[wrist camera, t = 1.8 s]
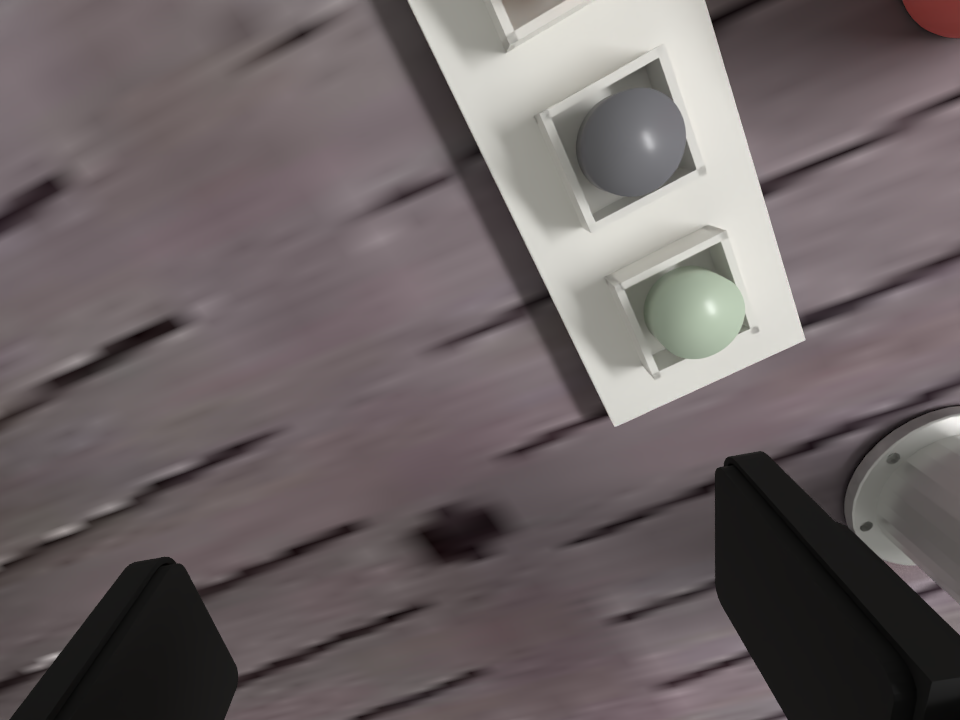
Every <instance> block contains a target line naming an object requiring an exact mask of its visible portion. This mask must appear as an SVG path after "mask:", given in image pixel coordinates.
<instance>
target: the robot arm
mask: <svg viewBox="0 0 960 720" xmlns="http://www.w3.org/2000/svg"><path fill="white" fill-rule="evenodd" d="M844 514H845V518H846V523H847V526H848V527H846V526H845V525H843V524H840V523H838V522H835V521H834V520H833V519H832V518H831V517H830V516H829V515H828V514H827V513H826V512H825V511H824V510H823V509H822V508H821V507H820V506H819V505H818V504H817V503H815V502H814V501H813V500H812V499H811V498H810V497H809V496H808V495H807V494H806V493H805V492H804V491H803V490H802V489H801V488H800V487H799V486H798V485H797V484H796V483H795V482H794V481H793V480H792V479H791V478H790V477H789V476H788V475H787V474H786V473H785V472H784V471H783V470H782V469H781V468H780V467H779V466H778V465H777V464H776V463H775V462H774V461H773V460H772V459H771V458H770V457H769V456H768V455H767V454H766V453H764V452H761V451H759V452H753V453H748V454H742V455H736V456H731V457H728V458H726V459H725V462H724V467H719V468H717V469H716V471H715V585H716V591H717V594H718V598H719V600H720V603H721V605H722V607H723V609H724V610H725V612H726V614H727V616H728V617H729V619H730V621H731V622H732V624H733V626H734V628H735V629H736V631H737V633H738V634H739V636H740V638H741V640H742V641H743V643H744V645H745V646H746V648H747V650H748V652H749V653H750V655H751V657H752V659H753V660H754V662H755V664H756V665H757V667H758V669H759V671H760V672H761V674H762V676H763V677H764V679H765V681H766V683H767V684H768V686H769V688H770V690H771V691H772V693H773V695H774V696H775V698H776V700H777V702H778V703H779V705H780V707H781V708H782V710H783V712H784V714H785V715H786V717H787V719H788V720H960V635H959V634H958V633H957V632H956V631H955V630H954V629H953V628H952V627H951V626H950V625H949V624H948V623H947V622H945V621H944V620H943V619H942V618H941V617H940V616H939V615H938V614H937V613H936V612H935V611H934V610H933V609H932V608H931V607H930V606H929V605H928V604H927V603H926V602H925V601H924V600H923V599H922V598H921V597H920V596H919V595H918V594H917V593H916V592H915V591H914V590H913V589H912V588H911V587H910V586H908V585H907V584H906V583H905V582H904V581H903V580H902V579H901V578H900V577H899V576H898V575H897V574H896V573H895V572H894V571H893V570H892V569H891V568H890V567H889V566H888V565H887V564H886V563H885V562H884V561H887V562H891V563H895V564H900V565H910V566H918V567H919V568H920V569H921V570H923V571H924V572H925V573H926V574H927V575H928V576H929V577H930V578H931V579H932V580H933V581H935V582H936V583H937V584H938V585H939V586H940V587H941V588H942V589H943V590H944V591H945V592H946V593H948V594H949V595H950V596H951V597H952V598H953V599H954V600H955V601H956V602H957V603H958V604H960V406H956V407H948V408H944V409H941V410H937V411H933V412H930V413H927V414H925V415H922V416H920V417H918V418H915V419H913V420H911V421H909V422H907V423H906V424H904V425H902V426H901V427H899V428H897V429H895V430H894V431H892V432H891V433H890V434H889V435H887V436H886V437H885V438H884V439H882V440H881V441H880V442H878V443H877V445H876V446H875V447H874V448H873V449H872V450H871V451H870V452H869V453H868V454H867V455H866V456H865V457H864V459H863V460H862V462H861V463H860V464H859V466H858V467H857V469H856V470H855V472H854V474H853V476H852V479H851V481H850V483H849V485H848V488H847V492H846V496H845V503H844ZM883 560H884V561H883ZM237 682H238V671H237V667H236V664H235V663H234V661H233V659H232V657H231V655H230V653H229V651H228V649H227V647H226V645H225V643H224V641H223V640H222V638H221V636H220V634H219V632H218V630H217V628H216V626H215V624H214V622H213V620H212V618H211V617H210V615H209V613H208V611H207V609H206V607H205V605H204V603H203V601H202V599H201V597H200V595H199V594H198V592H197V590H196V588H195V586H194V584H193V582H192V580H191V578H190V576H189V574H188V572H187V571H186V569H185V567H184V566H183V565H181V564H176V562H175V561H174V560H173V559H172V558H170V557H161V558H156V559H150V560H144V561H139V562H134V563H132V564H130V565H129V566H127V567H126V568H125V569H124V571H123V572H122V573H121V575H120V576H119V577H118V579H117V580H116V581H115V582H114V584H113V585H112V586H111V588H110V589H109V590H108V592H107V593H106V594H105V596H104V597H103V598H102V599H101V601H100V602H99V603H98V605H97V606H96V607H95V609H94V610H93V611H92V613H91V614H90V615H89V616H88V618H87V619H86V620H85V622H84V623H83V624H82V626H81V627H80V628H79V630H78V631H77V632H76V634H75V635H74V636H73V637H72V639H71V640H70V641H69V643H68V644H67V645H66V647H65V648H64V649H63V651H62V652H61V653H60V654H59V656H58V657H57V658H56V660H55V661H54V662H53V664H52V665H51V666H50V668H49V669H48V670H47V671H46V673H45V674H44V675H43V677H42V678H41V679H40V681H39V682H38V683H37V685H36V686H35V687H34V688H33V690H32V691H31V692H30V694H29V695H28V696H27V698H26V699H25V700H24V702H23V703H22V704H21V705H20V707H19V708H18V709H17V711H16V712H15V713H14V715H13V716H12V717H11V719H10V720H224V719H225V716H226V714H227V711H228V709H229V706H230V704H231V701H232V698H233V696H234V693H235V691H236V687H237Z"/></svg>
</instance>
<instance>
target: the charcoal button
mask: <svg viewBox="0 0 960 720" xmlns="http://www.w3.org/2000/svg"><path fill="white" fill-rule="evenodd" d="M685 144H686V129H685V123H684V119H683V117H682V114H681V112H680V110H679V108H678V107H677V105H676V104H675V103H674V102H673V101H672V100H671V99H670V98H669V97H668V96H666V95H665V94H663V93H662V92H659V91H657V90H654V89H651V88H633V89H628V90H625V91H622V92H619V93H616V94H613V95H610V96H608V97H606V98H604V99H603V100H601V101H599V102H598V103H597V104H596V105H595V106H594V107H593V108H592V109H591V110H590V111H589V112H588V114H587V115H586V116H585V118H584V120H583V121H582V123H581V126H580V128H579V131H578V135H577V141H576V155H577V160H578V164H579V167H580V169H581V171H582V173H583V174H584V176H585V177H586V178H587V180H588V181H589V182H590V183H592V184H593V185H594V186H595V187H597V188H599V189H601V190H603V191H606V192H609V193H612V194H615V195H619V196H624V197H636V196H641V195H645V194H648V193H650V192H652V191H654V190H656V189H657V188H659V187H660V186H662V185H663V184H664V183H665V182H666V181H667V180H668V179H669V178H670V177H671V176H672V175H673V173H674V172H675V171H676V169H677V167H678V166H679V164H680V161H681V159H682V156H683V154H684V149H685Z"/></svg>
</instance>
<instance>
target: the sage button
mask: <svg viewBox="0 0 960 720" xmlns="http://www.w3.org/2000/svg"><path fill="white" fill-rule="evenodd" d="M744 316H745V303H744V299H743V296H742V294H741V292H740V290H739V289H738V287H737V286H736V285H735V284H734V283H732V282H731V281H730V280H728V279H726V278H724V277H722V276H720V275H718V274H716V273H714V272H712V271H710V270H708V269H706V268H704V267H700V266H683V267H679V268H676V269H673V270H671V271H669V272H667V273H666V274H664V275H663V276H662V277H660V278H659V279H658V280H657V281H656V282H655V283H654V285H653V286H652V287H651V289H650V290H649V292H648V294H647V297H646V299H645V303H644V320H645V324H646V326H647V328H648V330H649V331H650V333H651V334H652V335H653V336H654V337H655V338H656V339H657V340H658V341H659V342H660V343H661V344H662V345H663V346H664V347H665V348H666V349H667V350H668V351H670V352H671V353H672V354H674V355H676V356H678V357H681V358H685V359H702V358H706V357H709V356H712V355H714V354H716V353H718V352H720V351H721V350H723V349H724V348H726V347H727V346H728V345H729V344H730V343H731V342H732V341H733V340H734V338H735V337H736V336H737V334H738V333H739V331H740V329H741V327H742V324H743V321H744Z"/></svg>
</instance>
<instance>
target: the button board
mask: <svg viewBox="0 0 960 720" xmlns="http://www.w3.org/2000/svg"><path fill="white" fill-rule="evenodd" d="M407 2H408V4H409V6H410V8H411V10H412V12H413V14H414V16H415V18H416V20H417V22H418V24H419V26H420V28H421V30H422V33H423V35H424V37H425V39H426V41H427V43H428V45H429V47H430V49H431V51H432V53H433V55H434V57H435V59H436V61H437V63H438V65H439V68H440V70H441V72H442V74H443V76H444V78H445V80H446V82H447V84H448V86H449V88H450V90H451V92H452V94H453V96H454V98H455V101H456V103H457V105H458V107H459V109H460V111H461V113H462V115H463V117H464V119H465V121H466V123H467V125H468V127H469V129H470V131H471V133H472V136H473V138H474V140H475V142H476V144H477V146H478V148H479V150H480V152H481V154H482V156H483V158H484V160H485V162H486V164H487V166H488V169H489V171H490V173H491V175H492V177H493V179H494V181H495V183H496V185H497V187H498V189H499V191H500V193H501V195H502V197H503V199H504V202H505V204H506V206H507V208H508V210H509V212H510V214H511V216H512V218H513V220H514V222H515V224H516V226H517V228H518V230H519V232H520V234H521V237H522V239H523V241H524V243H525V245H526V247H527V249H528V251H529V253H530V255H531V257H532V259H533V261H534V263H535V265H536V267H537V270H538V272H539V274H540V276H541V278H542V280H543V282H544V284H545V286H546V288H547V290H548V292H549V294H550V296H551V298H552V300H553V303H554V305H555V307H556V309H557V311H558V313H559V315H560V317H561V319H562V321H563V323H564V325H565V327H566V329H567V331H568V333H569V335H570V338H571V340H572V342H573V344H574V346H575V348H576V350H577V352H578V354H579V356H580V358H581V360H582V362H583V364H584V366H585V368H586V371H587V373H588V375H589V377H590V379H591V381H592V383H593V385H594V387H595V389H596V391H597V393H598V395H599V397H600V399H601V401H602V403H603V406H604V408H605V410H606V412H607V414H608V416H609V418H610V419H611V421H612V423H613V425H614V427H616V426H618V425H621V424H623V423H625V422H627V421H629V420H632V419H634V418H636V417H638V416H640V415H643V414H645V413H647V412H649V411H651V410H653V409H656V408H658V407H660V406H662V405H664V404H667V403H669V402H671V401H673V400H675V399H678V398H680V397H682V396H684V395H686V394H688V393H691V392H693V391H695V390H697V389H699V388H702V387H704V386H706V385H708V384H710V383H713V382H715V381H717V380H719V379H721V378H724V377H726V376H728V375H730V374H732V373H734V372H737V371H739V370H741V369H743V368H745V367H748V366H750V365H752V364H754V363H756V362H759V361H761V360H763V359H765V358H767V357H769V356H772V355H774V354H776V353H778V352H780V351H783V350H785V349H787V348H789V347H791V346H794V345H796V344H798V343H800V342H802V341H804V340H805V337H804V333H803V330H802V327H801V323H800V320H799V317H798V313H797V310H796V306H795V303H794V300H793V296H792V293H791V289H790V286H789V283H788V279H787V276H786V273H785V269H784V266H783V262H782V259H781V256H780V252H779V249H778V246H777V242H776V239H775V235H774V232H773V229H772V225H771V222H770V218H769V215H768V212H767V208H766V205H765V202H764V198H763V195H762V191H761V188H760V185H759V181H758V178H757V174H756V171H755V168H754V164H753V161H752V158H751V154H750V151H749V147H748V144H747V141H746V137H745V134H744V131H743V127H742V124H741V120H740V117H739V114H738V110H737V107H736V103H735V100H734V97H733V93H732V90H731V87H730V83H729V80H728V76H727V73H726V70H725V66H724V63H723V59H722V56H721V53H720V49H719V46H718V43H717V39H716V36H715V32H714V29H713V26H712V22H711V19H710V16H709V12H708V9H707V5H706V2H705V0H407ZM633 88H651V89H654V90H657V91H659V92H662V93H663V94H665V95H666V96H668V97H669V98H670V99H671V100H672V101H673V102H674V103H675V104H676V105H677V107H678V108H679V110H680V112H681V114H682V117H683V119H684V123H685V129H686V144H685V149H684V154H683V156H682V159H681V161H680V164H679V166H678V167H677V169H676V171H675V172H674V173H673V175H672V176H671V177H670V178H669V179H668V180H667V181H666V182H665V183H664V184H663V185H662V186H660V187H659V188H657V189H656V190H654V191H652V192H650V193H648V194H645V195H641V196H636V197H624V196H619V195H615V194H612V193H609V192H606V191H603V190H601V189H599V188H597V187H595V186H594V185H593V184H592V183H590V182H589V181H588V180H587V178H586V177H585V176H584V174H583V173H582V171H581V169H580V167H579V164H578V160H577V155H576V141H577V135H578V131H579V128H580V126H581V123H582V121H583V120H584V118H585V116H586V115H587V114H588V112H589V111H590V110H591V109H592V108H593V107H594V106H595V105H596V104H597V103H598V102H599V101H601V100H603V99H604V98H606V97H608V96H610V95H613V94H616V93H619V92H622V91H625V90H628V89H633ZM683 266H700V267H704V268H706V269H708V270H710V271H712V272H714V273H716V274H718V275H720V276H722V277H724V278H726V279H728V280H730V281H731V282H732V283H734V284H735V285H736V286H737V287H738V289H739V290H740V292H741V294H742V296H743V299H744V303H745V316H744V321H743V324H742V327H741V329H740V331H739V333H738V334H737V336H736V337H735V338H734V340H733V341H732V342H731V343H730V344H729V345H728V346H727V347H726V348H724V349H723V350H721V351H720V352H718V353H716V354H714V355H712V356H709V357H706V358H702V359H685V358H681V357H678V356H676V355H674V354H672V353H671V352H670V351H668V350H667V349H666V348H665V347H664V346H663V345H662V344H661V343H660V342H659V341H658V340H657V339H656V338H655V337H654V336H653V335H652V334H651V333H650V331H649V330H648V328H647V326H646V324H645V320H644V303H645V299H646V297H647V294H648V292H649V290H650V289H651V287H652V286H653V285H654V283H655V282H656V281H657V280H658V279H659V278H660V277H662V276H663V275H664V274H666V273H667V272H669V271H671V270H673V269H676V268H679V267H683Z"/></svg>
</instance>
